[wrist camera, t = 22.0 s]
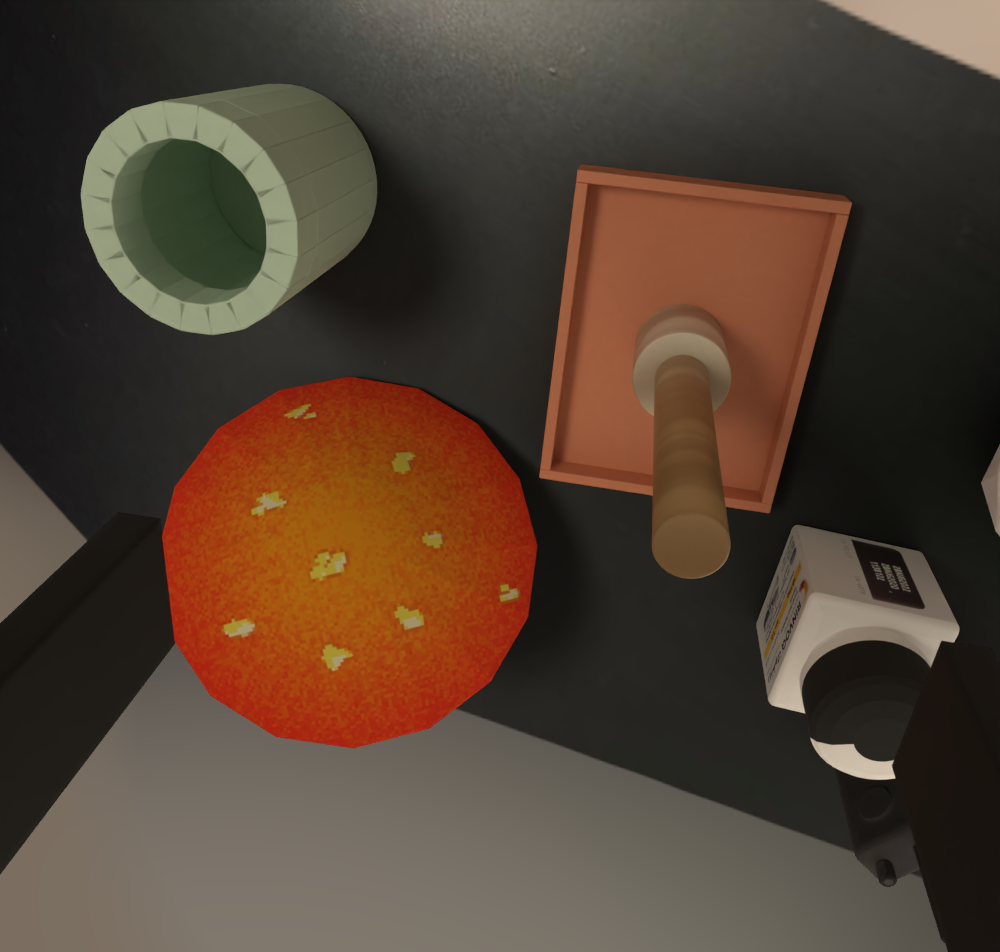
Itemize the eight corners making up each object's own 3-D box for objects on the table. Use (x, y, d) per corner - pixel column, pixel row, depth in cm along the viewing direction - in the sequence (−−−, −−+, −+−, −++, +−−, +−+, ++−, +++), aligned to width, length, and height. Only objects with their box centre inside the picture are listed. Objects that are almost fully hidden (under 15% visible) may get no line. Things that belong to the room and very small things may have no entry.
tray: (580, 163, 46) (577, 169, 44) (845, 195, 44) (852, 202, 43) (543, 463, 54) (538, 478, 52) (766, 497, 52) (769, 514, 51)
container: (792, 521, 53) (829, 659, 41) (924, 550, 52) (998, 698, 41) (754, 624, 56) (778, 778, 45) (876, 652, 56) (933, 815, 44)
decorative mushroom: (507, 633, 60) (463, 807, 47) (214, 525, 60) (87, 669, 46) (585, 447, 53) (559, 589, 40) (253, 324, 53) (117, 426, 39)
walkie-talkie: (853, 770, 60) (907, 980, 47) (822, 739, 60) (868, 944, 46) (917, 737, 58) (993, 948, 45) (886, 705, 58) (953, 909, 44)
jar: (201, 74, 47) (66, 89, 36) (380, 94, 46) (295, 116, 35) (212, 257, 51) (95, 319, 41) (375, 279, 50) (299, 348, 40)
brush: (642, 297, 48) (630, 473, 29) (733, 310, 47) (779, 495, 29) (628, 381, 50) (609, 593, 32) (715, 394, 50) (747, 616, 31)
